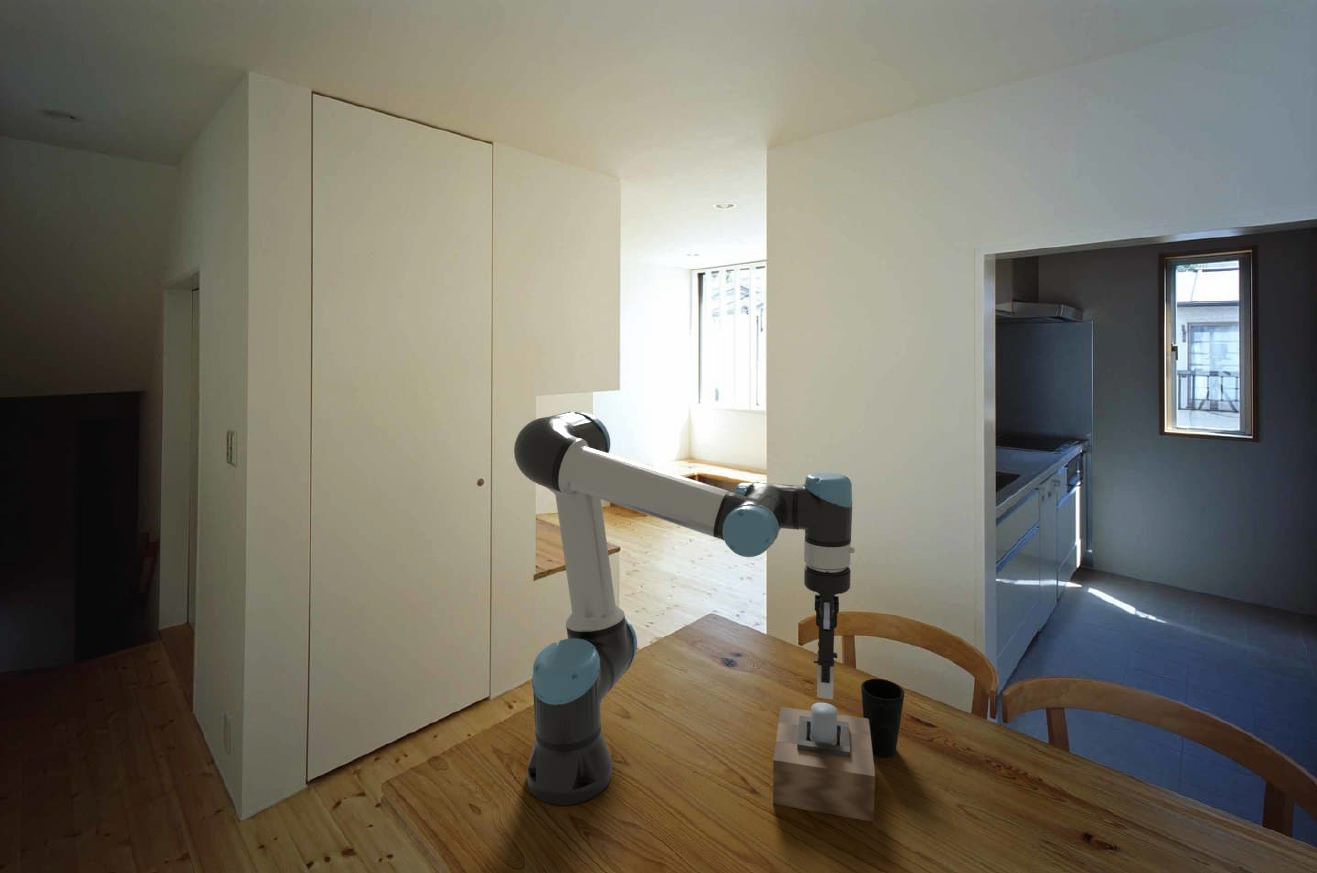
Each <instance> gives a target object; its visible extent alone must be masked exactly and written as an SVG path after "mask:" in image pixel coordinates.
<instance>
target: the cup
mask: <svg viewBox="0 0 1317 873" xmlns="http://www.w3.org/2000/svg"><path fill="white" fill-rule="evenodd" d="M860 690H861V704H862V707H861V708H862V718H867V719H869V725H870V734H871V743H872V752H873V756H876V757H879V758H880V757H881V758H890V757H893V756H895V754H896V752H897V745H898V739H899V733H900V726H901V718H902V713H903V707H904V699H905V690H904V689H903V687H902V686H900V685H899V684H898V683H896V682H893V681H891V680H888V679H885V678H869V679H866V680H865V681H863V682H862V683H861V686H860Z"/></svg>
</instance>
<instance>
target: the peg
mask: <svg viewBox="0 0 1317 873" xmlns="http://www.w3.org/2000/svg"><path fill="white" fill-rule="evenodd" d="M810 711H811V734H810V740H811V741H812V742H819V743H826V744H833V745H837V714H838V709H837V708H836V707H835V706H834V705H832V704H830V703H828V702H815V703H814V704H812V706H811V707H810Z"/></svg>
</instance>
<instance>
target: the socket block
mask: <svg viewBox="0 0 1317 873" xmlns="http://www.w3.org/2000/svg"><path fill="white" fill-rule="evenodd" d="M779 709H780V710H779V714H778V716H779V717H778V723H777V724H778V725H777V730H776V740H775V745H774V752H773V763H772V764H773V767H772V770H773V771H772V772H773V773H772V774H773V775H772V776H773V777H772V781H773V782H772V805H776V806H777V805H778V806H783V807H789V808H794V809H795V808H796V809H800V810H805V811H810V812H817V813H820V814H821V813H823V814H828V815H834V816H839V817H845V818H851V819H856V820H860V821H861V820H862V821H865V822H866V821H867V822H873V823H874V821H875V820H874V818H875V791H876V790H875V789H876V772H875V763H874V754H873V752H872V743H871V734H870V725H869V719H867V718H863V717H859V716H852V715H844V714H838V713H837V745H833V744H826V743H819V742H812V741H811V740H810V734H811V710H807V709H798V708H794V707H786V706H785V707H784V706H780V708H779Z"/></svg>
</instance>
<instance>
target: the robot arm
mask: <svg viewBox="0 0 1317 873" xmlns="http://www.w3.org/2000/svg"><path fill="white" fill-rule="evenodd" d="M610 450H611V437H610V433H609V431H608V429H607V427H606V425H604V423H603V422H602V421H601V420H600V419H599V418H597V416H595V415H593V414H591V413H588V412H583V411H567V412H564V413H563V412H562V413H559V414H555V415H554V414H553V415H551V416H543V417H540V418H536V419H534V420H531V421H529V422H528V423H527V424H526V425H525V426H523V428H522V429H521V430H520V431H519V432H518V435H517V436H516V439H515V442H514V446H513V453H514V454H513V455H514V460H515V462H516V465H517V467H518V469H519V471H520V472H521V473H522V474H523V475H524V476H525V477H526V478H527V479H528V480H529V481H531V482H533V483H535V484H538V485H539V486H543V487H544V488H546V489H547V490H549V491H551V492H552V493H553V494H554V495H555V504H556V509H557V517H558V523H559V529H560V537H561V545H562V552H563V557H564V559H563V560H564V565H565V571H566V573H565V574H566V579H567V585H568V586H567V587H568V594H569V599H570V606H571V614H570V615H569V617H568V618H567V619H566V621H565V626H566V633H567V634H566V635H567V638H565V639H561V640H559V642H552V643H551V644H549V645H547V646H545V647H544V648H543V649H542V650H541V651H540V652H539V653H538V654H537V656H536V658H535V659H534V662H533V667H532V678H531V687H532V693H533V710H534V714H533V715H534V731H535V739H534V744H533V747H532V750H531V753H530V757H529V760H528V764H527V770H526V775H527V776H526V778H527V780H526V781H527V787H528V789H529V791H530V793H531V794H532V795H533V796H534V797H535V798H536V799H537V800H540V801H541V802H544V803H546V804H549V805H555V806H570V805H576V804H580V803H581V804H582V803H584V802H586V801H589V800H591V799H593V798H595V797H596V796H598V795H599V794H601V793H602V792H603V791H604V790H605V789H606V788H607V787H608V785H609V784H610V782H611V779H612V774H613V761H612V756H611V753H610V751H609V748H608V746H607V743H606V740H605V738H604V735H603V733H602V717H601V716H602V714H601V713H602V712H601V703H602V701H603V699H605V697H606V696H607V694H608V693H609V692H610V691H611V690H612V688H613V687H614V686H615V685H616V684H617V682H619V681H620V679H621V678H622V677H623V675H625V674H626V673H627V671H628V670H629V669H630V667H631V665H632V664H633V661H634V659H635V657H636V654H637V650H638V637H637V635H636V631H635V628H634V627H633V625H632V624H630V623H629V622H628V620H627V618H626V616H625V612H624V610H623V609H622V608H620V606H618V605H616V599H615V593H614V592H615V591H614V584H613V578H612V570H611V563H610V562H611V561H610V555H609V549H608V548H609V547H608V541H607V534H606V527H605V520H604V513H603V512H604V511H603V504H602V501H605V502H608V503H611V504H614V505H618V506H620V507H624V508H627V509H629V510H632V511H635V512H638V513H642V514H644V515H647V516H650V517H653V518H656V519H659V520H662V521H665V522H667V523H671V524H674V525H677V526H679V527H683V528H686V529H689V530H691V531H694V532H698V533H701V534H704V535H707V536H709V537H713V538H715V539H718V540H721V541H724V543H725V545H726V546H727V547H728V548H729V549H730V550H731V552H733V553H734V554H735V555H738V556H740V557H744V558H754V557H758V556H760V555H762V554H763V553H765V552H766V551H767V550H768V549H769V548H770V547H772V545H774V542H775V541H776V539H778V536H779V533H780V531H781V529H785V530H786V529H787V530H802V531H803V530H804V540H803V541H804V543H803V544H804V546H803V548H804V552H803V553H804V555H803V556H804V557H803V560H804V563H805V564H804V567H803V568H804V571H803V572H804V573H803V574H804V575H803V578H804V579H803V581H804V582H803V583H804V584H803V585H804V586H805V587H806V589H808V590H809V591H811V592H814V593H815V594H814V611H815V615H816V616H815V625H816V626H817V627H818V643H817V647H818V651H817V655H818V656H817V657H814V658H813V663H814V664H816V665H817V666H816V667H817V671H816V672H817V673H816V679H817V681H816V698H820V699H825V700H826V699H827V700H828V699H829V700H834V680H835V679H834V678H835V677H834V676H835V675H834V674H835V672H834V671H835V660H834V659H838V652H835V651H834V649H835V647H834V646H835V628H837V626H838V613H839V611H840V601H839V600H840V597H839V596H840V595H842V594H845V593H846V592H848V591H849V590H850V589H851V568H850V567H849V566H850V565H851V554H854V553H855V551H856V550H855V548H854V546H851V545H852V525H853V524H852V521H853V493H852V492H853V484H852V481H851V479H850V478H849V477H848V476H846V475H845V474H841V473H836V472H815V473H810V474H807V476H806V477H805V482H804V483H803V484H800V485H799V484H782V483H781V484H780V483H766V482H759V481H754V482H741V483H739V484H738V483H737V485H736V486H735V488H734V492H733V491H729V490H726V489H724V488H720V487H716V486H715V485H711V484H707V483H704V482H701V481H698V480H696V479H695V480H694V479H691V478H688V477H684V476H682V475H679V474H676V473H673V472H669V471H665V470H663V469H659V468H656V467H653V466H649V465H648V464H647V465H646V464H644V463H639V462H637V461H633V460H631V459H626V458H623V457H620V456H618V455H614V454H611V453H610V452H611V451H610ZM816 593H817V594H816ZM838 594H839V595H838Z"/></svg>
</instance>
